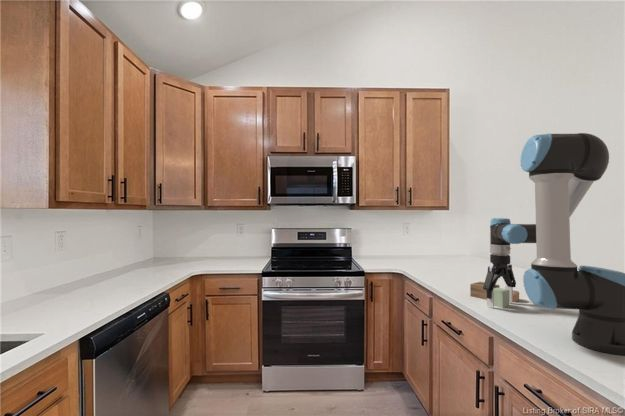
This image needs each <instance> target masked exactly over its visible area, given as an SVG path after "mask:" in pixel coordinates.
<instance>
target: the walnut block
mask: <svg viewBox="0 0 625 416" xmlns="http://www.w3.org/2000/svg"><path fill="white" fill-rule="evenodd" d="M484 282H485V281H478V282H473V283H470V286H469V287H470V288H469V289H470V291H469V292H470V293H469V294H470V297H473V298H476V299H481V300H486V301H487V290H484V289H483V286H484ZM494 288H500V285H499V284H496V285H495V287H494Z"/></svg>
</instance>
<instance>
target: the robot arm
mask: <svg viewBox="0 0 625 416" xmlns="http://www.w3.org/2000/svg"><path fill="white" fill-rule="evenodd" d="M609 153H610V152H609V149H608V146H607V144H606V143H605V141H603V140H602V139H601V138H600V137H599V136H596V135H594V134H591V133H587V132H578V133H543V134H534V135H533V136H531V137H530V138H529V139H527V141H526V142H525V144H524V146H523V148H522V150H521V155H520V160H519V161H520V167H521V169H522V171H523V172H526V173H528V179H529V180H530V181H532V182H533V183H534V200H535V201H534V203H535V207H534V208H535V223H529V224H528V223H527V224H526V223H511V222H512V221H511V220H510V218H507V217H506V218H504V217H502V218H501V217H500V218H499V217H498V218H497V217H495V218H494V217H493V218H491V219H490V222H489V223H490V226H489V228H490V229H489V231H490V233H489V235H490V236H489V238H490V242H489V243H490V245H489V253H490V256H489V257H490V258H489V259H490V260H489V261H490V263H491V264H492V266H488V267H487V273H486V276H485V279H484V281H483V282H484V286H483V289H484V290H487V300H486V306H487V307H491V308H494V307H495V306H494V291H493V289H494V287H495V285H497V281H499V279H500V278H501V277H502V279H503V281H504V283H505V285H506V286H505V288H504V289H508V290H509V303H514V302H513V290H514V289H513V288H516V285H517V282H516V279H515V274H514V271H513V265H512V264H511V255H510V254H511V249H512V248H511V244H512V245H519V244H536V257H535V259H534V260H533V261H532V262H531V263H530V264H531V265H530V266H531V267H530V268H529V269H526V270H525V271H524V274H523V277H522V279H523V280H522V281H523V287H524V290H525V293H526V296H527V297H528V299H529V300H530V302H531V303H532V304H533V305H535V306H536V307H538V308H543V309H550V310H561V309H562V310H578V312H579V313H578V317H577V319H576V322H575V324H574V326H573V329H572V332H571V339H572V341H573V342H574V343H576V344H577V345H580V346H582V347H585V348H588V349H589V350H593V351H598V352H601V353H605V354H606V353H607V354H610V355H611V354H613V355H618V356H619V355H621V356H625V272H622V271H618V270H614V269H609V268H605V267H604V268H603V267H598V266H589V265H582V264H581V265H579V267H578V264H576V262H574V261H573V260H572V258H571V257H572V256H571V223H570V218H571V217H572V215H573V214H574V212H575V210H576V209H577V207H578V206H579V204H580V203H581V201H582V200H583V199H584V197H585V196H586V194H587V193H588V191H589V190H590V188H591V187H592V185H593V183H594V182H597V181H599V180H601V178H602V177H603V175H604V174H605V172H606V171H607V169H608V166H609V163H610V154H609Z"/></svg>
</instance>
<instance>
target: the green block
mask: <svg viewBox="0 0 625 416" xmlns="http://www.w3.org/2000/svg"><path fill="white" fill-rule="evenodd" d="M493 291H494V307H497V308H501V309H504V308H508V307H510V302H509V290H508V289H505V288H502V287H499V288H494V289H493Z"/></svg>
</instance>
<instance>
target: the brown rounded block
mask: <svg viewBox="0 0 625 416" xmlns="http://www.w3.org/2000/svg"><path fill="white" fill-rule="evenodd" d="M519 302H520V292H519V291H517V290H514V289H513V302H512V303H519Z"/></svg>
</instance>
